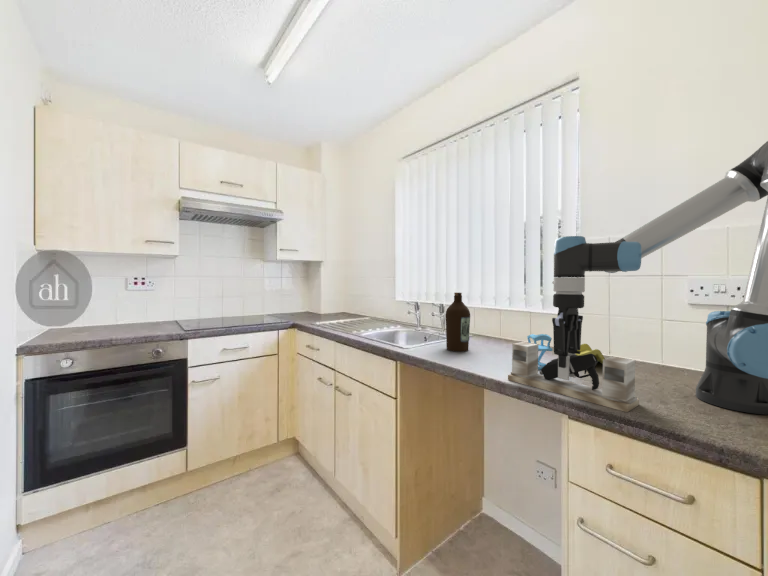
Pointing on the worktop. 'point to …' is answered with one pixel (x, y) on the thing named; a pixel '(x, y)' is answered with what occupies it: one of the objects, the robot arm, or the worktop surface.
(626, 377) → the board
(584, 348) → the plastic component
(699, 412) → the worktop surface
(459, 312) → the olive oil
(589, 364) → the gun
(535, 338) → the chair
